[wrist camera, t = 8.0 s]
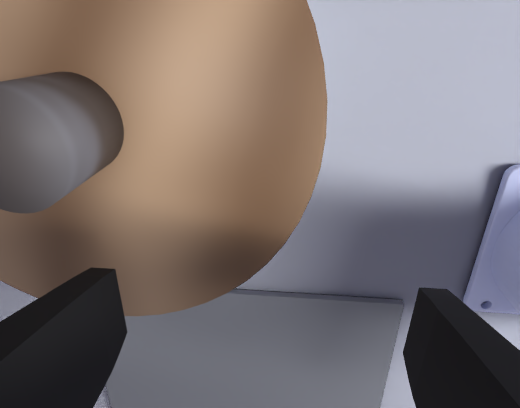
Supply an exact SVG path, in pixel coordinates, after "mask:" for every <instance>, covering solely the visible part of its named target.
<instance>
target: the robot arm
mask: <svg viewBox="0 0 520 408" xmlns="http://www.w3.org/2000/svg"><path fill="white" fill-rule="evenodd" d="M484 301H487V302H486V303H484V304H482V303H483V302H484ZM474 311H478V312H493V313H508V314H520V164H518V165H513V166H511V167H509V168H508V169H507V170H506V171H505V172H504V174H503V177H502V180H501V183H500V187H499V190H498V193H497V196H496V199H495V202H494V205H493V208H492V211H491V215H490V218H489V221H488V224H487V227H486V230H485V233H484V236H483V240H482V243H481V246H480V249H479V252H478V255H477V258H476V261H475V265H474V268H473V271H472V274H471V277H470V280H469V283H468V286H467V289H466V293H465V296H464V299H463V302H462V301H461V300H460V299H458V298H457V297H456V296H455V295H453V294H452V293H451V292H450V291H448V290H447V289H434V288H419V290H418V294H417V298H416V302H415V306H414V310H413V314H412V318H411V322H410V327H409V331H408V335H407V339H406V343H405V347H404V351H403V355H404V360H405V365H406V370H407V374H408V379H409V383H410V387H411V391H412V396H413V399H414V402H415V405H416V408H520V350H518V349H517V348H516V347H515V346H514V345H512V344H511V343H510V342H509V341H508V340H507V339H505V338H504V337H503V336H502V335H501V334H499V333H498V332H497V331H496V330H495V329H494V328H492V327H491V326H490V325H489V324H488V323H487V322H485V321H484V320H483V319H482V318H481V317H480V316H478V315H477V314H476V313H475V312H474ZM126 335H127V327H126V322H125V317H124V311H123V306H122V301H121V296H120V291H119V286H118V280H117V275H116V270H115V269H109V268H93V267H91V268H89V269H87V270H85V271H84V272H82V273H80V274H78V275H76V276H75V277H73V278H71V279H70V280H68V281H66V282H65V283H63V284H61V285H60V286H58V287H56V288H55V289H53V290H51V291H50V292H48V293H47V294H45V295H43V296H42V297H40V298H38V299H37V300H35V301H34V302H32V303H30V304H29V305H27V306H25V307H24V308H22V309H20V310H19V311H17V312H15V313H14V314H12V315H11V316H9V317H7V318H6V319H4V320H2V321H1V322H0V408H93V407H94V405H95V403H96V401H97V399H98V397H99V396H100V394H101V392H102V390H103V388H104V386H105V384H106V382H107V381H108V379H109V377H110V375H111V373H112V371H113V368H114V366H115V363H116V361H117V359H118V356H119V354H120V351H121V348H122V346H123V343H124V340H125V338H126Z"/></svg>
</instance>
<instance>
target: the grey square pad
mask: <svg viewBox="0 0 520 408" xmlns="http://www.w3.org/2000/svg"><path fill="white" fill-rule="evenodd" d="M403 307H404V303H403V301H402V300H397V299H381V298H365V297H350V296H334V295H319V294H303V293H287V292H272V291H256V290H241V289H233V290H231V291H230V292H228V293H226V294H224V295H222V296H220V297H218V298H215V299H213V300H211V301H209V302H207V303H204V304H201V305H198V306H195V307H192V308H188V309H185V310H181V311H176V312H171V313H166V314H160V315H147V316H124V317H125V322H126V327H127V335H126V338H125V340H124V343H123V346H122V348H121V351H120V354H119V356H118V359H117V361H116V363H115V366H114V368H113V371H112V373H111V375H110V377H109V379H108V381H107V382H106V388H107V392H108V396H109V400H110V404H111V408H380V406H381V402H382V397H383V393H384V389H385V384H386V380H387V376H388V372H389V367H390V363H391V359H392V354H393V350H394V346H395V342H396V337H397V333H398V329H399V324H400V320H401V316H402V311H403Z"/></svg>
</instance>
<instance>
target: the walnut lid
mask: <svg viewBox="0 0 520 408" xmlns="http://www.w3.org/2000/svg"><path fill="white" fill-rule="evenodd" d="M326 121H327V93H326V82H325V71H324V62H323V58H322V53H321V49H320V44H319V40H318V35H317V31H316V26H315V23H314V20H313V17H312V14H311V12H310V9H309V6H308V3H307V0H0V280H1V281H2V282H4V283H6V284H8V285H10V286H12V287H14V288H16V289H18V290H20V291H23V292H25V293H27V294H30V295H32V296H34V297H36V298H40V297H42V296H43V295H45V294H47V293H48V292H50V291H51V290H53V289H55V288H56V287H58V286H60V285H61V284H63V283H65V282H66V281H68V280H70V279H71V278H73V277H75V276H76V275H78V274H80V273H82V272H84V271H85V270H87V269H89V268H91V267H93V268H109V269H115V270H116V275H117V280H118V286H119V291H120V296H121V301H122V306H123V311H124V316H147V315H160V314H166V313H171V312H176V311H181V310H185V309H188V308H192V307H195V306H198V305H201V304H204V303H207V302H209V301H211V300H213V299H215V298H218V297H220V296H222V295H224V294H226V293H228V292H230V291H231V290H233V289H234V288H236V287H238V286H239V285H241V284H242V283H244V282H245V281H247V280H248V279H250V278H251V277H252V276H253V275H254V274H256V273H257V272H258V271H259V270H260V269H261V268H263V267H264V266H265V265H266V264H267V263H268V262H269V261H270V260H271V259H272V258H273V256H274V255H275V254H276V253H277V252H278V251H279V250H280V249H281V248H282V246H283V245H284V244H285V242H286V241H287V239H288V238H289V236H290V235H291V233H292V232H293V230H294V229H295V227H296V226H297V224H298V223H299V221H300V219H301V217H302V215H303V213H304V211H305V209H306V207H307V204H308V202H309V200H310V198H311V196H312V193H313V190H314V186H315V183H316V180H317V177H318V174H319V171H320V167H321V161H322V156H323V150H324V144H325V138H326Z"/></svg>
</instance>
